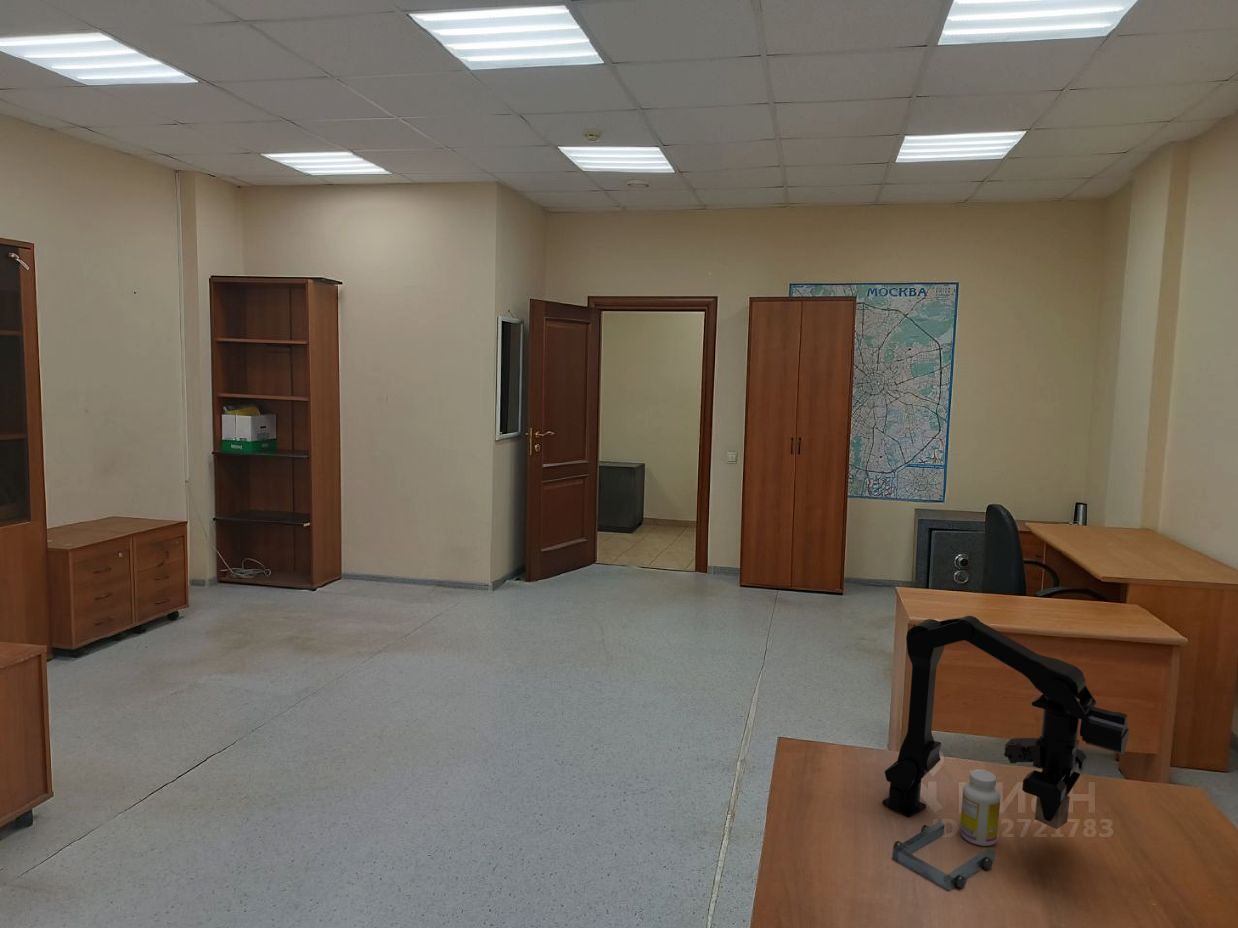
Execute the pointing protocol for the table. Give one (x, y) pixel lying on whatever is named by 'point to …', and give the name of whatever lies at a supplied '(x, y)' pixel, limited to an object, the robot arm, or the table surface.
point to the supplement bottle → (980, 809)
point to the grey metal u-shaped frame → (947, 881)
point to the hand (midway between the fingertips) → (1051, 814)
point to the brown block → (1058, 818)
